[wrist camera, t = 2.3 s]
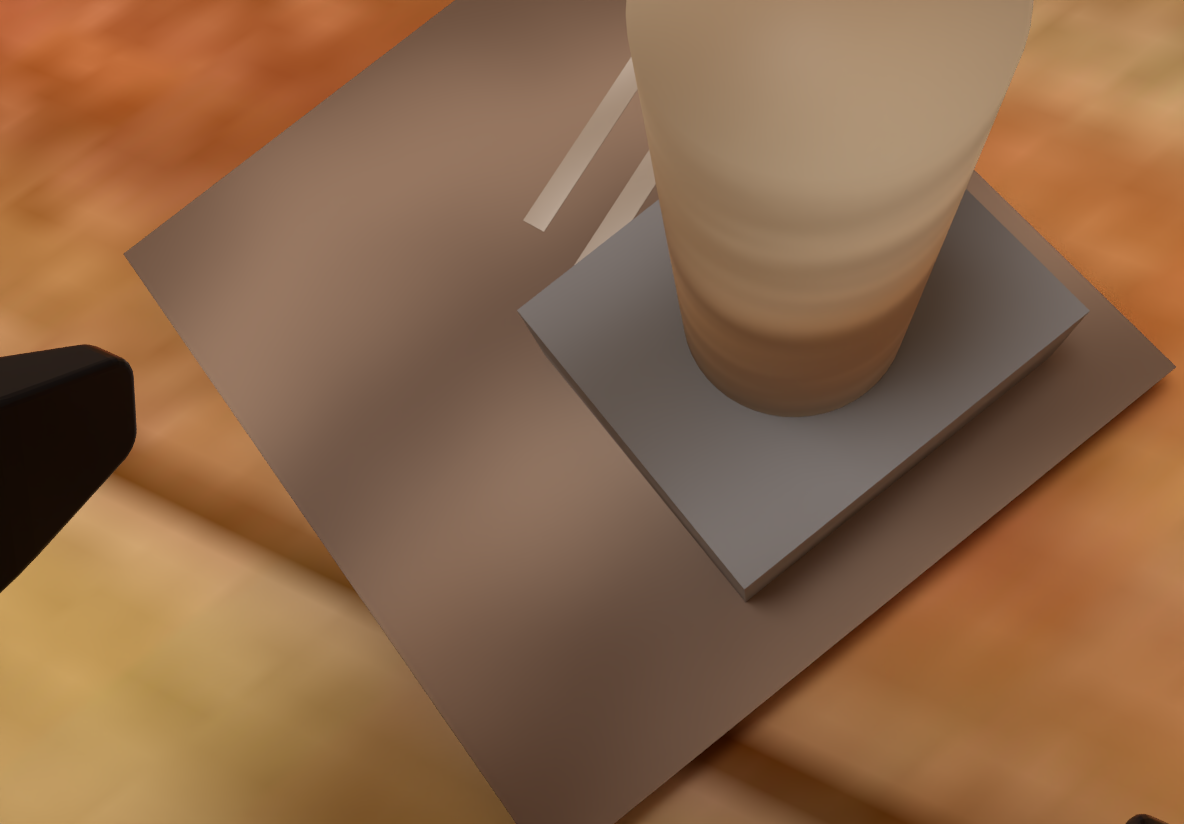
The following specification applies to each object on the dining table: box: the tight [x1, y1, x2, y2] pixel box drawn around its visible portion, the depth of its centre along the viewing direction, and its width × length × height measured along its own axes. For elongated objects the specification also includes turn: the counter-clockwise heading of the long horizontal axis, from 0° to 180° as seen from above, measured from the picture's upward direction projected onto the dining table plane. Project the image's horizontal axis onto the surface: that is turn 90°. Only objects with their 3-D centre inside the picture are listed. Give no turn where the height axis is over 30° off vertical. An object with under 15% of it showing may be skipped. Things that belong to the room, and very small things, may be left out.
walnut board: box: [124, 0, 1176, 824], centre depth 22 cm, size 15×14×1 cm
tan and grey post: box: [517, 0, 1090, 602], centre depth 15 cm, size 6×7×11 cm
